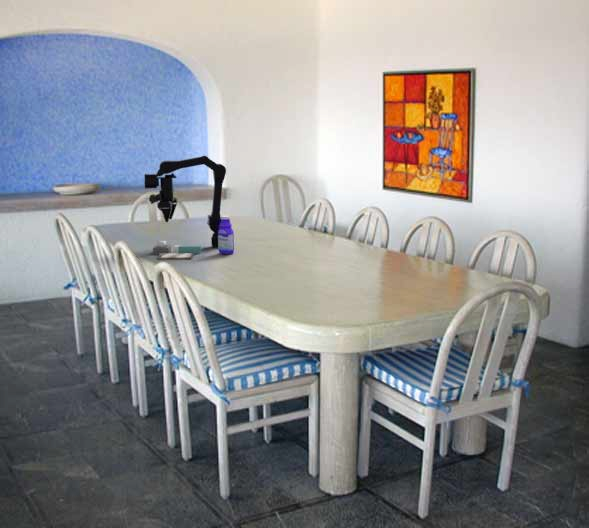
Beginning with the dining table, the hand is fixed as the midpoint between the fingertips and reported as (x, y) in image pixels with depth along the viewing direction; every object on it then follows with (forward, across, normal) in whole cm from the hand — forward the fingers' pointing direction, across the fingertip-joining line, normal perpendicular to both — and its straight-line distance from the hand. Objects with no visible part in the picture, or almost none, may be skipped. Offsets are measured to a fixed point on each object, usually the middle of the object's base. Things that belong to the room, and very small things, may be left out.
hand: (168, 220), depth 366 cm
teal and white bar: (+14, +12, +11) cm, 21 cm away
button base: (+13, +11, -2) cm, 18 cm away
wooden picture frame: (+14, +21, +7) cm, 26 cm away
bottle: (+14, +12, +28) cm, 34 cm away
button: (+11, +11, -2) cm, 16 cm away
